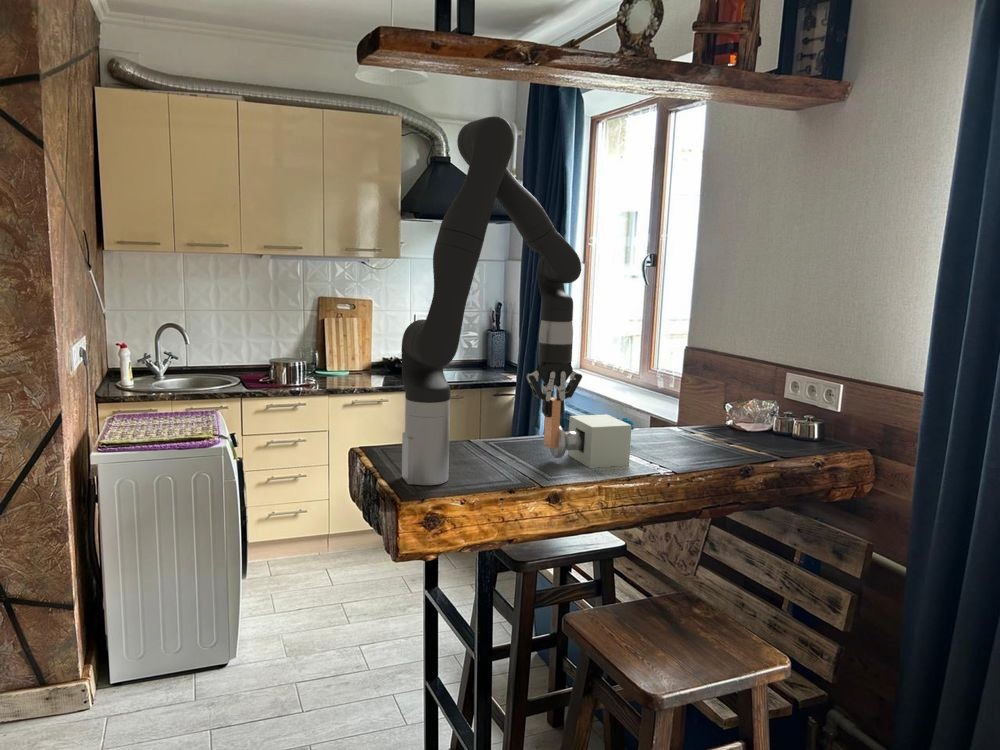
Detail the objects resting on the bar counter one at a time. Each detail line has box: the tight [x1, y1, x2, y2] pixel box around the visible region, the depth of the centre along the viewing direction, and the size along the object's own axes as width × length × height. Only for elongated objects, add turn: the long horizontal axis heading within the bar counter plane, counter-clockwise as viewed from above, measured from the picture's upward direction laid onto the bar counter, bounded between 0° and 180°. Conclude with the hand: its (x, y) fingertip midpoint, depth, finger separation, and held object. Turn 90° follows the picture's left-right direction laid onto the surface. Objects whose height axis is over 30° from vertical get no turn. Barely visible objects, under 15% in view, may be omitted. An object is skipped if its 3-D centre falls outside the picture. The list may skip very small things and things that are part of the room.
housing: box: [567, 413, 632, 469], centre depth 174 cm, size 10×12×10 cm
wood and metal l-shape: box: [543, 396, 585, 459], centre depth 171 cm, size 9×8×14 cm
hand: (552, 416), depth 169 cm, fingers closed on wood and metal l-shape, 2 cm apart
